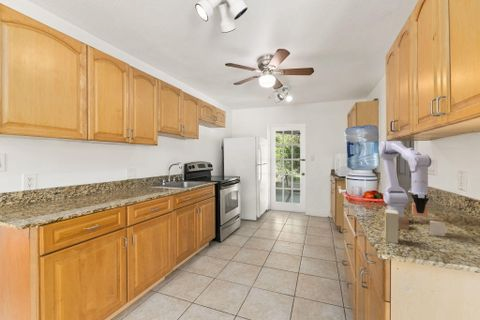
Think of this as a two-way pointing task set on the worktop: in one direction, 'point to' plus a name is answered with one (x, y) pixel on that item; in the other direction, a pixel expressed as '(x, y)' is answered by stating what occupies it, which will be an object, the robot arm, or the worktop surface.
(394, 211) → the skincare box
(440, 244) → the worktop surface
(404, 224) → the walnut cube
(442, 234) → the beige cube
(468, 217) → the worktop surface
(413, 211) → the terracotta cube
